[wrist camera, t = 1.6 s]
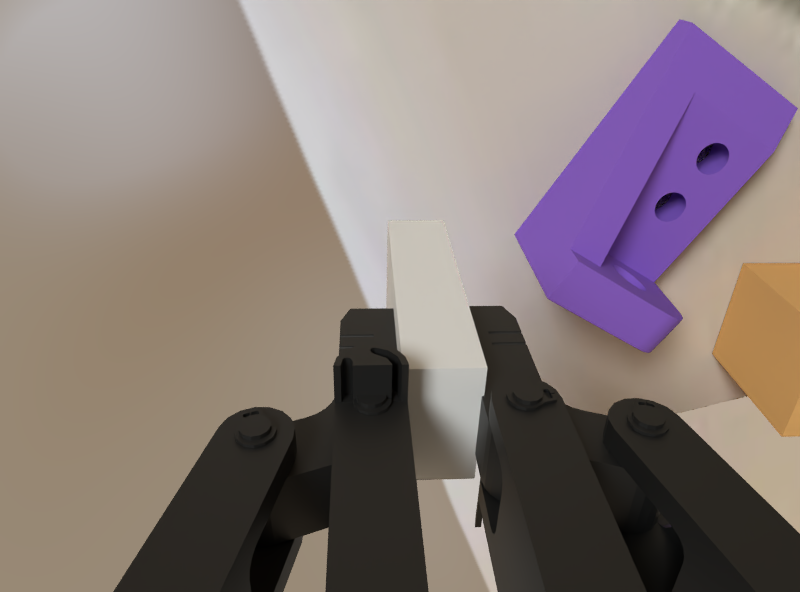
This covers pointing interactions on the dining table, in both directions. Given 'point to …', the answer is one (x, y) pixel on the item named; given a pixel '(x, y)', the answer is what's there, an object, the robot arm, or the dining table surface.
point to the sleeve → (765, 341)
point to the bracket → (651, 184)
